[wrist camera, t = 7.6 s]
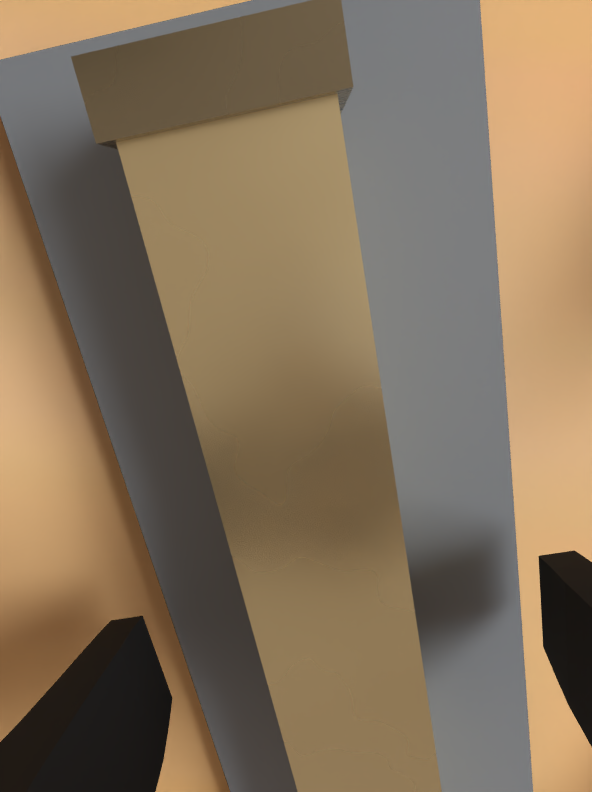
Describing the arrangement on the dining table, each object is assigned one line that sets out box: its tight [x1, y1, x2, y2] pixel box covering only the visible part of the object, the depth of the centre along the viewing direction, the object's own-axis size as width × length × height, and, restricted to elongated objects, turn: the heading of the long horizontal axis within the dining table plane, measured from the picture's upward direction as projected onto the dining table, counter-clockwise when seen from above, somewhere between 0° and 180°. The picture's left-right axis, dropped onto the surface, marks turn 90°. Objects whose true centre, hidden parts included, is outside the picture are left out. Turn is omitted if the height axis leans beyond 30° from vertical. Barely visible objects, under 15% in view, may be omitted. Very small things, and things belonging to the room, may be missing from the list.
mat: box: [0, 0, 533, 792], centre depth 11 cm, size 20×7×1 cm, turn 11°
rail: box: [71, 0, 442, 792], centre depth 10 cm, size 18×3×3 cm, turn 11°
